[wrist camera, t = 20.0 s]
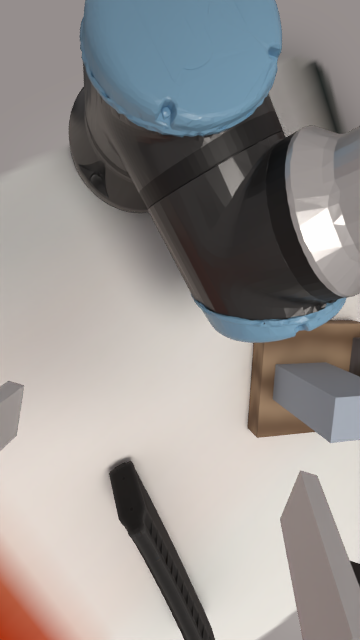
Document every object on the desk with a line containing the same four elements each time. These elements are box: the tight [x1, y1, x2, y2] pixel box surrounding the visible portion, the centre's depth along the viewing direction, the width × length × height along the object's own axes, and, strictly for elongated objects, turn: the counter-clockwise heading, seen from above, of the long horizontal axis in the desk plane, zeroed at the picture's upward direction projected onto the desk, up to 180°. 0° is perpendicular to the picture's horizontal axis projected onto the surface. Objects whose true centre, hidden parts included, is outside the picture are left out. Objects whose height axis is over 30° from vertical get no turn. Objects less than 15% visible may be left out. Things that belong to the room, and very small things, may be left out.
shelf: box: [248, 320, 360, 438], centre depth 46 cm, size 16×16×13 cm
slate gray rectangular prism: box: [273, 362, 360, 443], centre depth 43 cm, size 5×8×12 cm, turn 88°
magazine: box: [109, 461, 215, 640], centre depth 46 cm, size 17×3×30 cm
